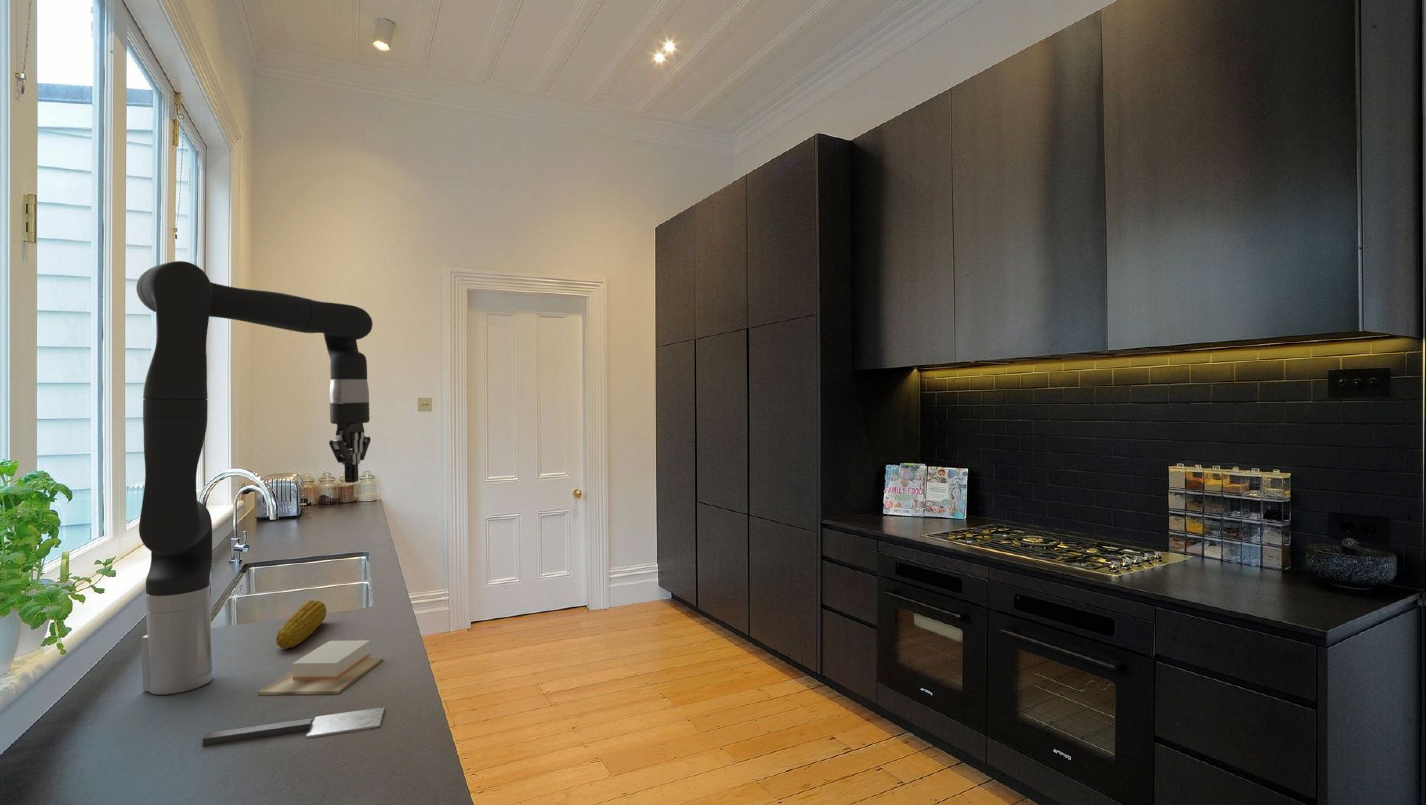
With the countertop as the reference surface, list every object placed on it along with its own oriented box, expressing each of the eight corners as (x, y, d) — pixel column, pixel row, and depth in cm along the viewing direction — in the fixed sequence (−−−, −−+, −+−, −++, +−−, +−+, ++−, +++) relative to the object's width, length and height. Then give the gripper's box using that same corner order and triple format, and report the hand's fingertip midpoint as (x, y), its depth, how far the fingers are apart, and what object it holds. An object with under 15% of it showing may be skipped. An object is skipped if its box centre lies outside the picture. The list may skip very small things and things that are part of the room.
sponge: (329, 655, 143) (292, 679, 131) (329, 640, 143) (292, 663, 131) (370, 655, 142) (336, 679, 130) (369, 640, 142) (336, 662, 130)
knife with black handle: (196, 754, 105) (196, 746, 105) (213, 733, 111) (212, 725, 111) (379, 727, 112) (379, 719, 112) (384, 709, 119) (384, 701, 119)
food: (302, 624, 166) (302, 598, 166) (329, 622, 167) (329, 596, 167) (270, 655, 145) (269, 626, 145) (301, 653, 147) (301, 623, 147)
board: (257, 694, 126) (257, 691, 126) (311, 660, 142) (311, 658, 142) (337, 693, 125) (337, 690, 125) (382, 659, 141) (382, 657, 141)
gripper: (348, 401, 162) (350, 478, 163) (314, 401, 149) (316, 486, 149) (382, 400, 162) (383, 478, 162) (350, 401, 149) (352, 485, 149)
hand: (351, 482), depth 156 cm, fingers closed
